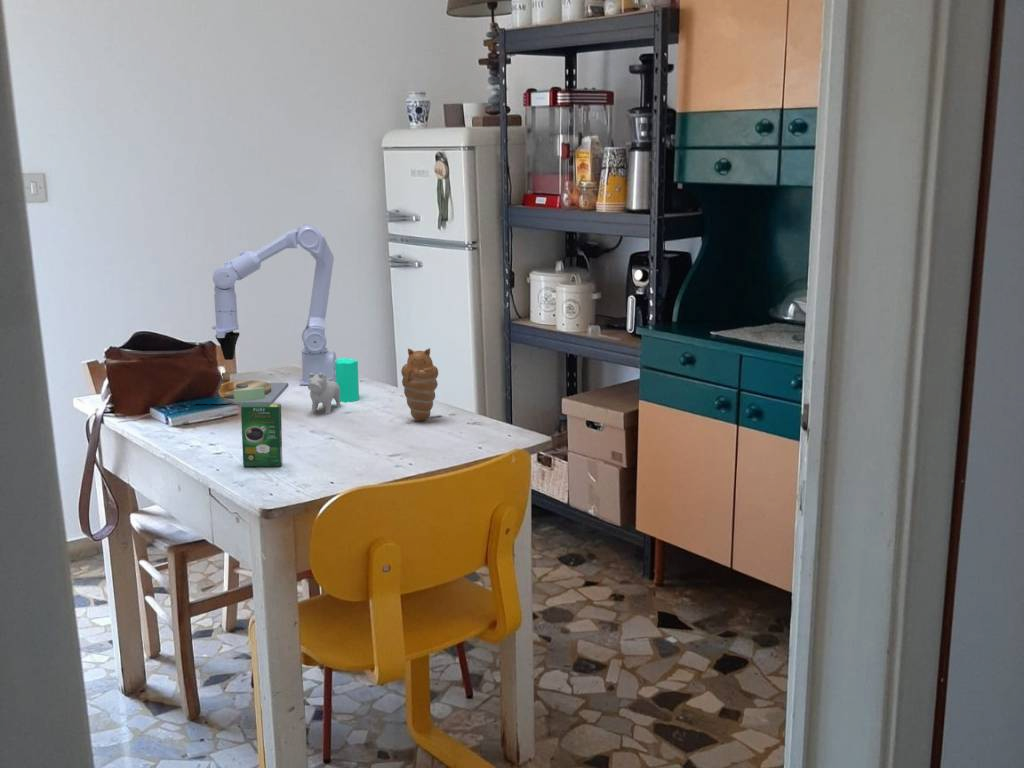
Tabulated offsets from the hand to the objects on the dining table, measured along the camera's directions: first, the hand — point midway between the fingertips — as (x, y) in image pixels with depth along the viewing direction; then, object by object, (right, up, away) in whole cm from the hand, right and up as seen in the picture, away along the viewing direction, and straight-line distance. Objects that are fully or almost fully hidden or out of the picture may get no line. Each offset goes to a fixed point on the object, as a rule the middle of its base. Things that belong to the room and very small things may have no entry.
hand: (229, 359), depth 272 cm
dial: (+6, -9, -8) cm, 13 cm away
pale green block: (+10, -11, -15) cm, 21 cm away
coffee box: (+27, -24, -67) cm, 76 cm away
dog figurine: (+31, -14, -24) cm, 41 cm away
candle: (+35, -11, -12) cm, 38 cm away
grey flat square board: (+6, -10, -7) cm, 14 cm away
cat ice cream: (+56, -16, -33) cm, 67 cm away
